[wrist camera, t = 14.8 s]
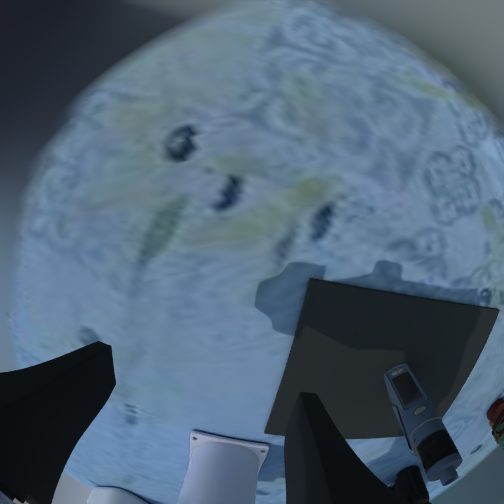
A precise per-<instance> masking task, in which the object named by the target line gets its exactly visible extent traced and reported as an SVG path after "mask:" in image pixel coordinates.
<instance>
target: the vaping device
mask: <svg viewBox="0 0 504 504" xmlns="http://www.w3.org/2000/svg"><path fill="white" fill-rule="evenodd" d="M384 379H385V383H386V386H387V390H388V394H389V397H390V400H391V402H392V404H393V406H392V408H393V410H394V412H395V415H396V417H397V419H398V422H399V424H400V426H401V429H402V431H403V433H404V436H405V438H406V441H407V443H408V446H409V448H410V449H411V450H412V451H413V454H414V456H418V459H419V461H420V463H422V464H423V467H425V468H424V469H425V472H426V474H427V477H428V480H429V481H436V480H439V479H440V480H441V483H442V485H443V486H446V485H448V484H450V483H452V482H453V481H454V480H456V479H457V478H458V474H457V472H456V470H455V469H456V468H458V466H459V465H460V464H461V463H462V458H461V456H460V454H459V452H458V450H457V448H456V446H455V444H454V442H453V440H452V439H451V437H450V435H449V433H447V432H448V431H447V430H446V428H445V426H444V424H443V422H442V418H441V417H440V416H439V414H438V412H437V411H436V409H435V407H434V406H433V404H432V402H431V401H430V399H429V397H428V396H427V394H426V391H425V390H424V389H423V388H422V386H421V384H420V383H419V381H418V380H417V378H416V377H415V375H414V373H413V372H412V370H411V369H410V367H409V366H408V364H407V363H406V362H405V363H403V364H399V365H396V366H394V367H392V368H391V369H390V370H388V371H387V372H386V373H385V374H384ZM449 437H450V438H449Z"/></svg>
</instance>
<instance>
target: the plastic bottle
mask: <svg viewBox="0 0 504 504" xmlns="http://www.w3.org/2000/svg"><path fill="white" fill-rule="evenodd" d="M86 504H149V503H147V502H145V501H144V500H142V499H140V498H139V497H137V496H135V495H134V494H132V493H130V492H127V491H125V490H122V489H119V488H113V487H94V488H93V489H92V492H91V493H90V496H89V498H88V500H87V502H86Z"/></svg>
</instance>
